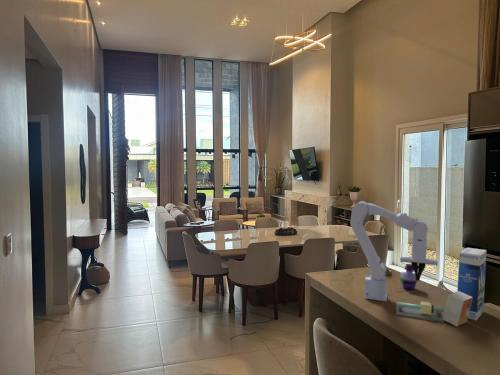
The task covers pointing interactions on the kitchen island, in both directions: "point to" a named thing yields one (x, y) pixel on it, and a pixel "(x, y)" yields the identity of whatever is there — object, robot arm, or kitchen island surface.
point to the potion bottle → (408, 278)
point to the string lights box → (473, 278)
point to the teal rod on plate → (419, 312)
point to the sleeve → (425, 308)
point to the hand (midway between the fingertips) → (417, 280)
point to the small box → (457, 308)
